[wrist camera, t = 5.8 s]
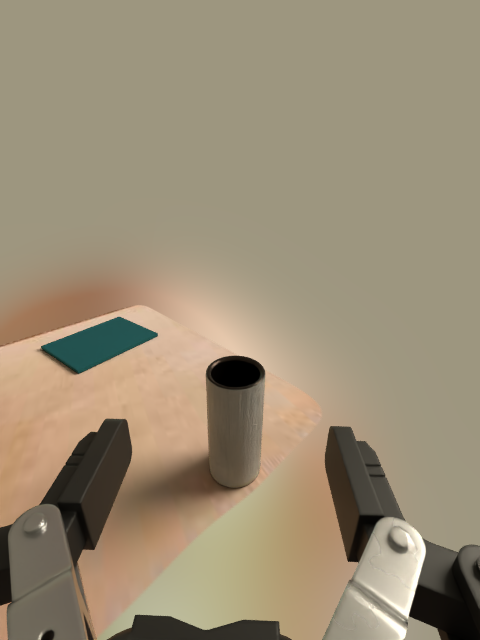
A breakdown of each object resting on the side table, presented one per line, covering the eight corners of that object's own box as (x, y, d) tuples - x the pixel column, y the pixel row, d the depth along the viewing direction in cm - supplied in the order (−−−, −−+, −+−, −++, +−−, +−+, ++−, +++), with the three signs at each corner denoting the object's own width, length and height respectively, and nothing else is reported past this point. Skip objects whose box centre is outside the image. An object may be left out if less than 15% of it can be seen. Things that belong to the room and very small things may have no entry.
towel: (78, 373, 42) (77, 370, 42) (41, 349, 47) (40, 346, 47) (158, 336, 51) (157, 333, 51) (119, 319, 57) (119, 316, 56)
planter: (213, 493, 27) (210, 393, 22) (206, 451, 31) (202, 358, 26) (266, 483, 28) (273, 384, 23) (252, 443, 32) (256, 352, 27)
